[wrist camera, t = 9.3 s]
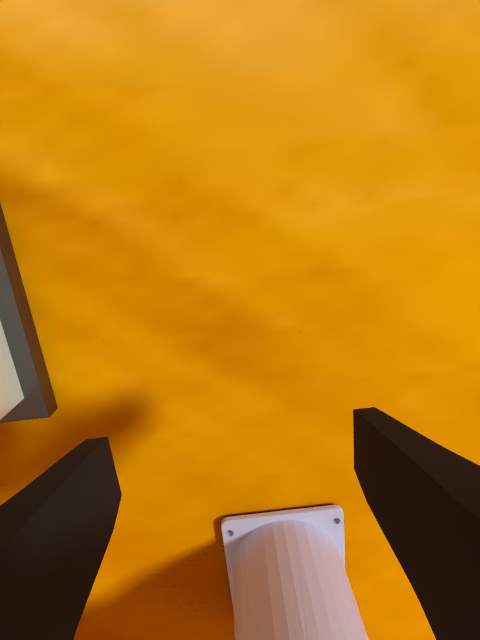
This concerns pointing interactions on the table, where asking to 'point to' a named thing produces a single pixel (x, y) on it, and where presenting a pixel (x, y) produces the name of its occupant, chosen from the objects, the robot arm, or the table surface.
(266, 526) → the robot arm
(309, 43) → the table surface
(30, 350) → the base
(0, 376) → the hollow breeze brick
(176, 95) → the table surface
